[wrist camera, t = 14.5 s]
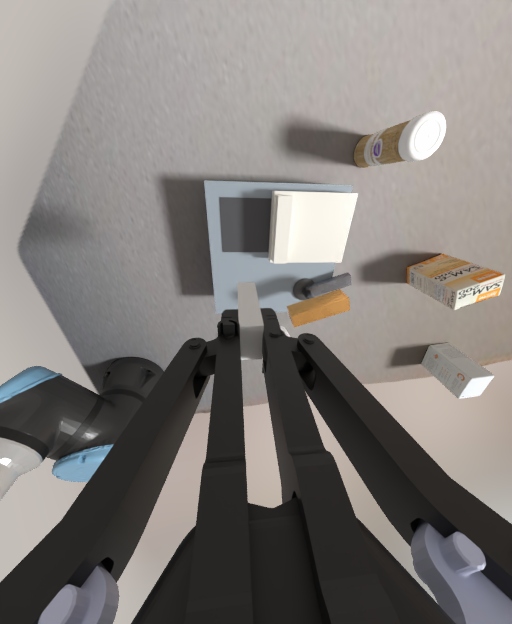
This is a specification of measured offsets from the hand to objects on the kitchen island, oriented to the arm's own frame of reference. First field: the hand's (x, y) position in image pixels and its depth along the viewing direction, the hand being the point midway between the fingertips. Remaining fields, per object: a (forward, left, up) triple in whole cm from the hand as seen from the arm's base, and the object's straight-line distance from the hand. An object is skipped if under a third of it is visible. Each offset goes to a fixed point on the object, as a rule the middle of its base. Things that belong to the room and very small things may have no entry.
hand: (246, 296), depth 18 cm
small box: (+60, -34, -27) cm, 74 cm away
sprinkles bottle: (+22, +14, -27) cm, 37 cm away
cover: (+11, +3, -18) cm, 22 cm away
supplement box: (+43, -7, -27) cm, 51 cm away
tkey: (+14, -7, -18) cm, 23 cm away
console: (+6, -2, -26) cm, 27 cm away
